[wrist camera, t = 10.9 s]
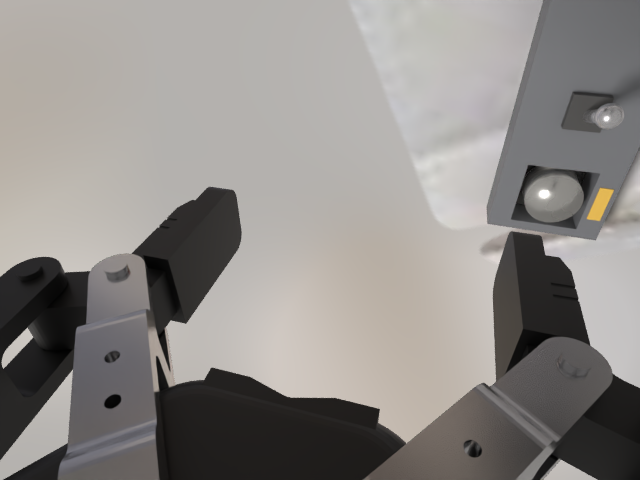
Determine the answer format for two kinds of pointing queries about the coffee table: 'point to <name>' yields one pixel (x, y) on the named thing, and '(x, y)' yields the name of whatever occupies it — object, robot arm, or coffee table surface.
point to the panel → (573, 111)
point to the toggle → (605, 116)
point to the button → (552, 193)
